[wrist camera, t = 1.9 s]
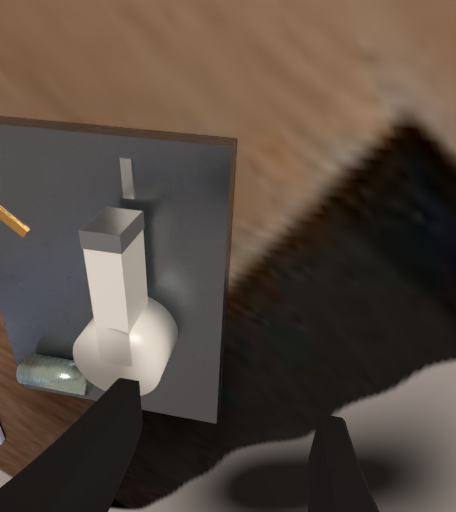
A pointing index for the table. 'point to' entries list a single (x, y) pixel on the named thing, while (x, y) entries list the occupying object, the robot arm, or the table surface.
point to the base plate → (155, 243)
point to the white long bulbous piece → (121, 306)
